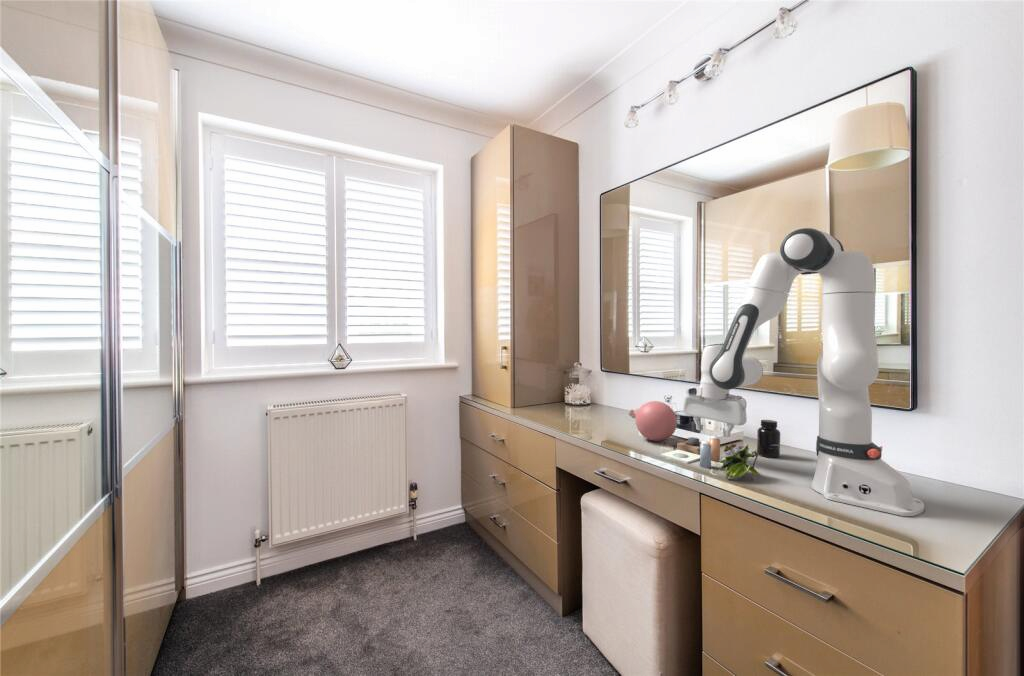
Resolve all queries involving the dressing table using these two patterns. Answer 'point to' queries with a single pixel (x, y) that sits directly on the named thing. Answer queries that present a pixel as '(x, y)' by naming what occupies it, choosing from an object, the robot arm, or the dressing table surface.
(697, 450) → the button block
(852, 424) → the robot arm
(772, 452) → the supplement bottle
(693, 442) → the button
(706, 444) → the cylinder
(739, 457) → the passion flower
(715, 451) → the cylinder
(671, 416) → the pink balloon
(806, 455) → the dressing table surface
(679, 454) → the sketch pad
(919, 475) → the dressing table surface
